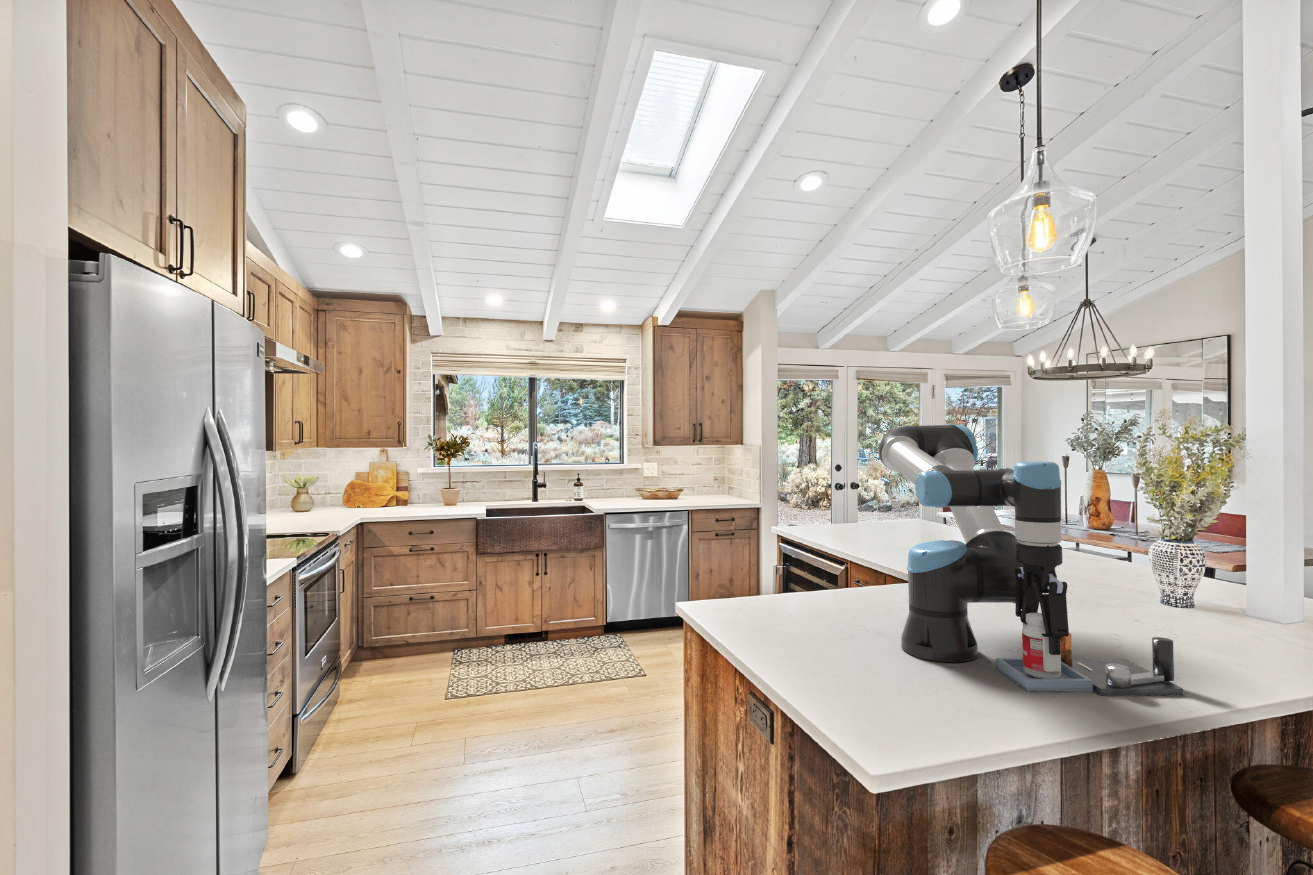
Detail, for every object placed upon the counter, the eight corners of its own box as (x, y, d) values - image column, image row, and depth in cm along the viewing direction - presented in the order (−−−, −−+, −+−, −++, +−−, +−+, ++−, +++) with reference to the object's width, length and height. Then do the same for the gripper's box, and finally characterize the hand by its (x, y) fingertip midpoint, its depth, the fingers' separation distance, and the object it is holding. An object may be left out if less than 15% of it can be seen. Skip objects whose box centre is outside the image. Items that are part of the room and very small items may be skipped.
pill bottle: (1027, 666, 122) (1025, 609, 122) (1064, 673, 118) (1062, 615, 118) (1019, 674, 117) (1017, 616, 118) (1057, 682, 113) (1055, 622, 113)
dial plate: (1100, 695, 110) (1099, 654, 110) (1053, 665, 124) (1052, 629, 124) (1183, 695, 109) (1182, 654, 109) (1125, 665, 123) (1124, 629, 123)
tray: (1027, 691, 112) (1027, 680, 112) (996, 667, 124) (995, 657, 124) (1093, 691, 111) (1092, 680, 111) (1055, 667, 123) (1055, 657, 123)
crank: (1119, 688, 109) (1118, 648, 109) (1100, 680, 112) (1099, 642, 112) (1180, 680, 112) (1179, 642, 112) (1160, 673, 115) (1159, 635, 115)
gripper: (1091, 551, 108) (1094, 683, 108) (1031, 534, 127) (1034, 646, 127) (1046, 552, 108) (1050, 683, 108) (993, 535, 127) (996, 646, 127)
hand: (1041, 663), depth 118 cm, fingers closed on pill bottle, 6 cm apart
